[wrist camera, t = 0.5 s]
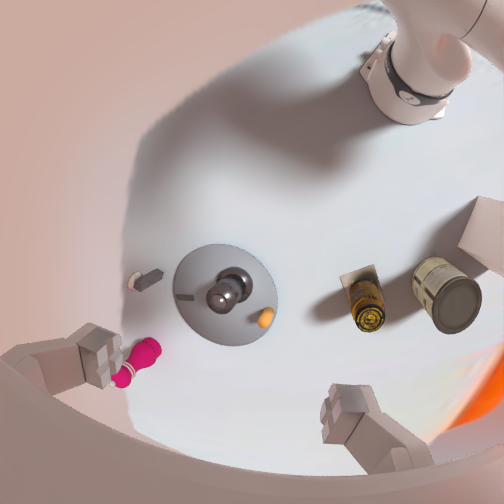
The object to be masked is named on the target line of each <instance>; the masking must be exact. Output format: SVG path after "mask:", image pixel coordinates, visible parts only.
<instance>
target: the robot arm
mask: <svg viewBox="0 0 504 504" xmlns="http://www.w3.org/2000/svg"><path fill="white" fill-rule="evenodd" d="M381 1H382V3H383V4H384V5H385V6H386V7H387V8H388V10H389V11H390V13H391V14H392V16H393V17H394V19H395V21H396V23H397V26H398V31H391V32H390V33H389V34H388V35H387V36H386V37H384V38H383V39H382V41H381V43H380V45H379V46H378V48H377V49H376V50H375V51H374V53H373V54H372V55H371V57H370V58H369V59H368V60H367V62H366V63H365V64H364V65H363V67H362V68H361V70H360V73H361V75H362V77H363V78H364V80H365V81H366V82H367V84H368V86H369V89H370V93H371V96H372V98H373V100H374V102H375V104H376V105H377V106H378V108H379V109H380V110H381V111H382V112H383V113H384V114H385V115H387V116H388V117H389V118H391V119H393V120H394V121H397V122H399V123H402V124H407V125H416V124H420V123H423V122H425V121H426V120H429V119H440V118H442V117H443V116H444V109H445V107H446V106H447V105H448V103H449V101H448V97H449V95H450V94H451V93H452V91H453V90H454V88H455V87H456V86H457V85H459V84H460V83H461V82H463V81H464V80H465V79H466V78H467V77H468V76H469V74H470V72H471V69H472V57H471V53H470V49H469V47H471V48H472V49H474V50H475V51H476V52H478V53H479V54H480V55H482V56H483V57H484V58H486V59H487V60H488V61H489V62H491V63H492V64H493V65H494V66H495V67H497V68H498V69H499V70H500V71H501V72H502V73H504V0H381ZM367 67H370V68H371V69H368V68H367ZM121 345H122V339H121V336H120V335H119V334H117V333H114V332H111V331H109V330H107V329H104V328H102V327H99V326H97V325H94V324H92V323H87V324H85V325H84V326H83V327H81V328H80V329H79V330H77V331H76V332H75V333H73V334H72V335H70V336H69V337H68V338H67V339H65V338H59V339H53V340H46V341H40V342H34V343H27V344H20V345H16V346H14V347H13V348H12V349H10V350H9V351H7V352H6V353H4V354H3V355H2V356H0V504H504V444H499V445H496V446H493V447H491V448H488V449H486V450H483V451H480V452H477V453H475V454H471V455H468V456H465V457H462V458H458V459H455V460H451V461H447V462H444V463H440V464H434V461H433V459H432V456H431V454H430V452H429V449H428V447H427V445H426V443H425V442H423V441H422V440H421V439H419V438H418V437H416V436H415V435H414V434H412V433H411V432H410V431H408V430H407V429H406V428H404V427H403V426H402V425H400V424H399V423H398V422H396V421H395V420H394V419H392V418H391V417H390V416H388V415H387V414H386V413H381V410H380V408H379V405H378V402H377V400H376V397H375V395H374V392H373V390H372V387H371V386H370V385H347V384H335V383H333V384H332V385H331V387H330V389H329V391H328V392H329V397H328V398H326V399H325V400H324V402H323V404H322V408H321V412H320V421H321V423H322V424H323V425H324V427H323V429H322V438H323V443H325V444H343V445H344V446H345V447H346V448H347V449H348V451H349V452H350V453H351V454H352V456H353V457H354V458H355V459H356V460H357V462H358V463H359V464H360V465H361V466H362V467H363V469H364V470H365V471H366V472H367V473H368V475H357V476H303V475H288V474H277V473H268V472H261V471H254V470H247V469H241V468H236V467H230V466H225V465H221V464H216V463H212V462H208V461H204V460H200V459H196V458H192V457H189V456H185V455H182V454H178V453H175V452H172V451H169V450H166V449H163V448H160V447H157V446H154V445H151V444H149V443H146V442H143V441H141V440H138V439H136V438H133V437H130V436H128V435H126V434H124V433H121V432H119V431H117V430H115V429H112V428H110V427H108V426H106V425H104V424H102V423H100V422H98V421H96V420H94V419H92V418H89V417H88V416H86V415H84V414H82V413H80V412H79V411H77V410H75V409H73V408H72V407H70V406H68V405H66V404H64V403H63V402H61V401H60V400H58V399H56V398H55V397H53V395H55V394H58V393H61V392H63V391H66V390H68V389H71V388H74V387H76V386H79V385H81V384H84V383H86V382H87V383H89V384H91V385H94V386H96V387H98V388H100V389H104V388H105V387H106V386H107V384H108V383H109V382H110V381H111V375H114V374H117V373H118V371H119V370H120V368H121V366H122V363H123V353H122V351H121V349H120V348H119V347H120V346H121Z"/></svg>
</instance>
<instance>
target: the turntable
mask: <svg viewBox="0 0 504 504" xmlns="http://www.w3.org/2000/svg"><path fill="white" fill-rule="evenodd" d="M228 267H239V268H242V269H244V270H245V271H246V272H247V273H248V274H249V275H250V276H251V278H252V281H253V291H252V293H251V295H250V296H249V297H248V299H247V300H245V301H244V302H242V303H237V304H236V305H235V306H234V308H233V309H232V310H231V311H230V312H229V313H227V314H217V313H215V312H213V311H212V310H211V309H210V308H209V307H208V305H207V302H206V294H207V292H208V291H209V290H210V289H211V288H212V287H213V286H214V285H215V284H216V280H217V277H218V275H219V274H220V273H221V272H222V271H223V270H224V269H226V268H228ZM174 294H175V300H176V303H177V306H178V309H179V311H180V313H181V315H182V316H183V318H184V319H185V321H186V322H187V323H188V325H189V326H190V327H191V328H192V329H193V330H194V331H195V332H197V333H198V334H199V335H201V336H202V337H204V338H205V339H207V340H209V341H211V342H214V343H217V344H220V345H225V346H242V345H246V344H249V343H252V342H254V341H256V340H258V339H259V338H261V337H262V336H263V335H264V334H265V333H266V332H267V331H268V330H269V328H270V327H271V325H272V323H273V321H274V319H275V315H276V312H277V292H276V288H275V285H274V282H273V280H272V278H271V276H270V274H269V273H268V271H267V270H266V269H265V267H264V266H263V265H262V264H261V263H260V262H259V261H258V260H257V259H256V258H255V257H254V256H252V255H251V254H249V253H248V252H246V251H244V250H242V249H240V248H238V247H234V246H231V245H225V244H212V245H207V246H203V247H201V248H198V249H196V250H195V251H193V252H191V253H190V254H189V255H188V256H187V257H186V258H185V259H184V260H183V261H182V262H181V264H180V266H179V268H178V270H177V272H176V276H175V281H174Z"/></svg>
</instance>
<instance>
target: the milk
mask: <svg viewBox="0 0 504 504" xmlns="http://www.w3.org/2000/svg"><path fill="white" fill-rule="evenodd" d="M457 247H459V248H460V249H462V250H463V251H465V252H466V253H468V254H469V255H470V256H472V257H473V258H475V259H476V260H477V261H479V262H480V263H481V264H483V265H484V266H485V267H487V268H488V269H489V270H491V271H493V272H495V273H497V274H499V275H501V276H503V277H504V202H502V201H498V200H494V199H490V198H486V197H482V196H478V198H477V201H476V204H475V206H474V209H473V211H472V214H471V216H470V219H469V221H468V224H467V226H466V228H465V231H464V233H463V235H462V237H461V240H460V242H459V244H458V246H457Z"/></svg>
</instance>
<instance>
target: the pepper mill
mask: <svg viewBox="0 0 504 504" xmlns="http://www.w3.org/2000/svg"><path fill="white" fill-rule="evenodd" d="M161 352H162V350H161V347H160V345H159V343H158V342H157V341H156V340H155V339H153V338H145V339H144V340H143V341H142V342H139V343H137V344H136V345H135V346H134V347H133V349H132V351H131V354H130V357H129V358H128V359H127V360H126V361H123V363H122V366H121V368H120V370H119V371H118V373H117V374H114V375H111V381H110V382H109V386H110V387H115V386H116V387H118V388H125V387H127V386H128V385H129V384H130V383H131V379H133V377H135V375H136V372H137V371H138V370H140V369H143V368H147V367H149V366H151V365H153V364H154V363H155V361H156V358H157V357H159V356H160V354H161Z"/></svg>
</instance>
